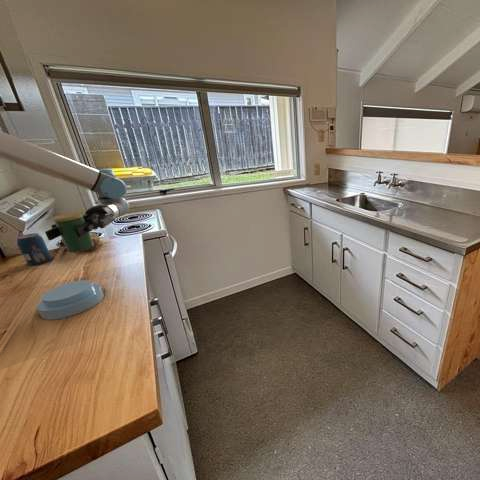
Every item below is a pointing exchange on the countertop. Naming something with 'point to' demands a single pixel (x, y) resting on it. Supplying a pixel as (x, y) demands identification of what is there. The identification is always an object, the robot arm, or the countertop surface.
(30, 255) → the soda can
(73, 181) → the robot arm
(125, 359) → the countertop surface
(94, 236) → the sponge
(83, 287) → the upturned bowl
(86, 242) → the tea tin
